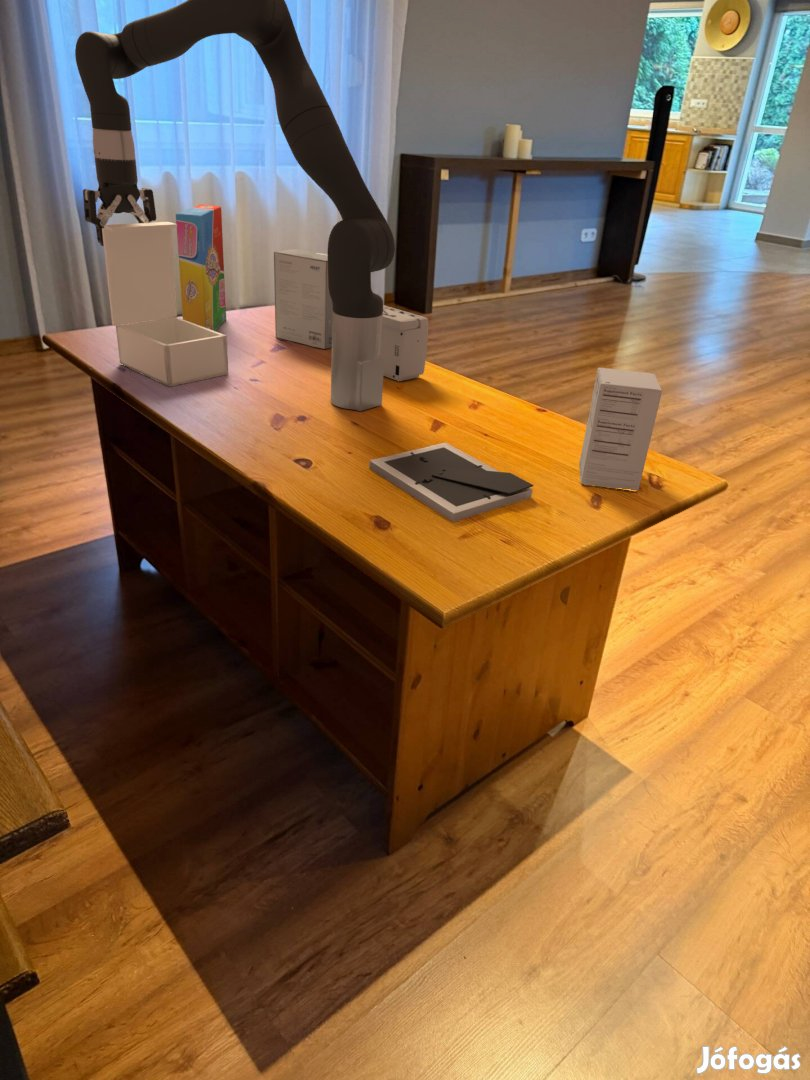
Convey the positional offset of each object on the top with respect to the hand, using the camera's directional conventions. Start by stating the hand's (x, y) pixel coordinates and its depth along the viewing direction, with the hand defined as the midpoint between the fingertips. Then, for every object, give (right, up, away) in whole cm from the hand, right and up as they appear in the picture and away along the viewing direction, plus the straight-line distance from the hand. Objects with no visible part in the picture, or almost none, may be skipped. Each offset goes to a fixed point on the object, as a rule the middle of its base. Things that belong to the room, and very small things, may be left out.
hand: (124, 244), depth 155 cm
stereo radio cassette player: (+51, -23, +13) cm, 58 cm away
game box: (+8, -9, +32) cm, 34 cm away
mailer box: (+9, -25, +3) cm, 27 cm away
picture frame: (+64, -52, -36) cm, 90 cm away
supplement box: (+90, -50, -30) cm, 108 cm away
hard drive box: (+34, -12, +29) cm, 46 cm away
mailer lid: (+6, -7, -2) cm, 10 cm away
